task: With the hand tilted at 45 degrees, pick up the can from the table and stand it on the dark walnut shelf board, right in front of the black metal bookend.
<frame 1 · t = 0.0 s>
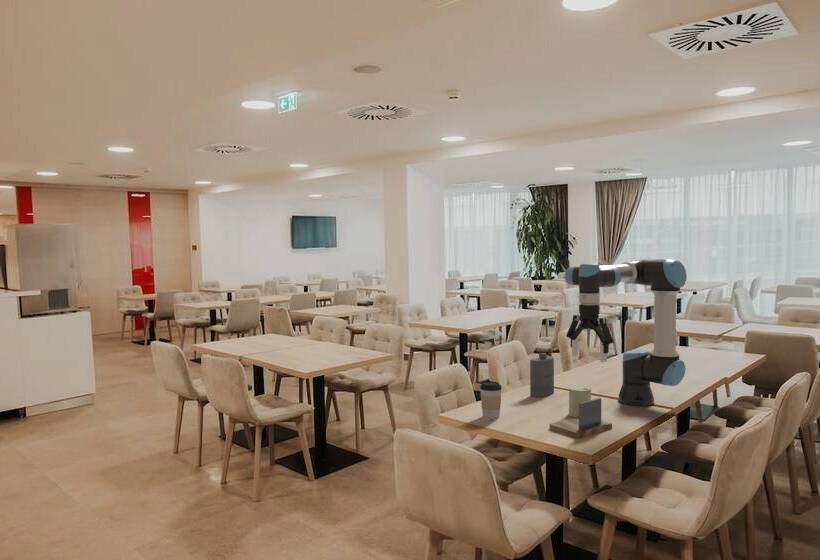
hand: (589, 358, 222), 28 cm above the table, tool pointing down, fingers open, 13 cm apart
can: (579, 415, 244), on the table
coffee cup: (491, 417, 243), on the table
flask: (543, 395, 277), on the table
bookend: (590, 426, 222), resting on shelf board
shelf board: (580, 428, 226), on the table
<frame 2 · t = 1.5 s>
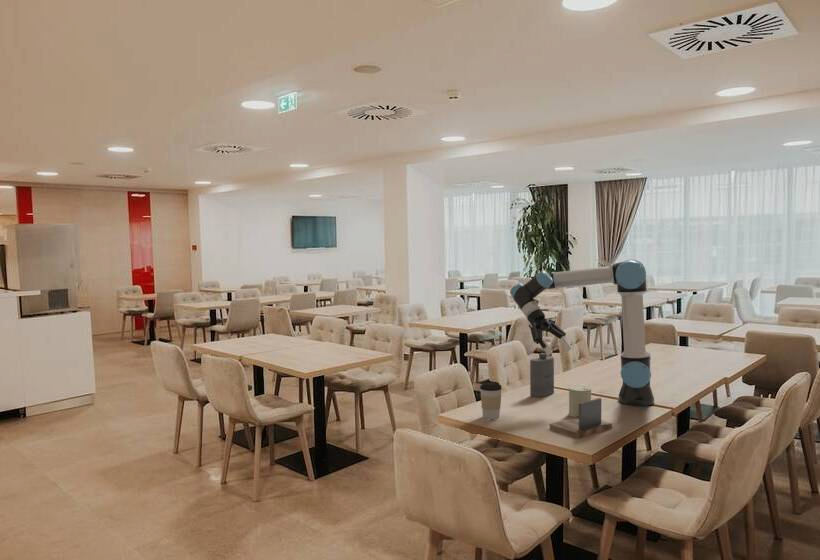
hand: (560, 351, 250), 26 cm above the table, tool tilted 45°, fingers open, 13 cm apart
nothing on the table moved.
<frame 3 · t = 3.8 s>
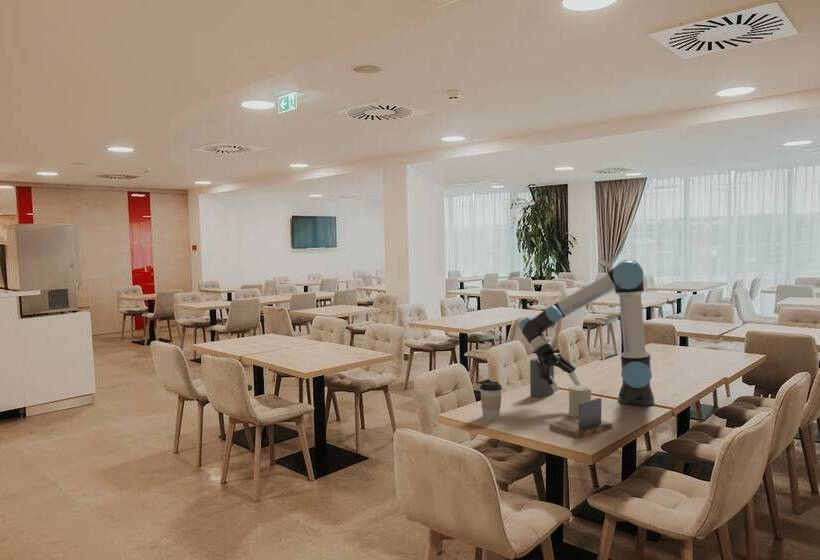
hand: (568, 387, 247), 11 cm above the table, tool tilted 45°, fingers open, 13 cm apart
nothing on the table moved.
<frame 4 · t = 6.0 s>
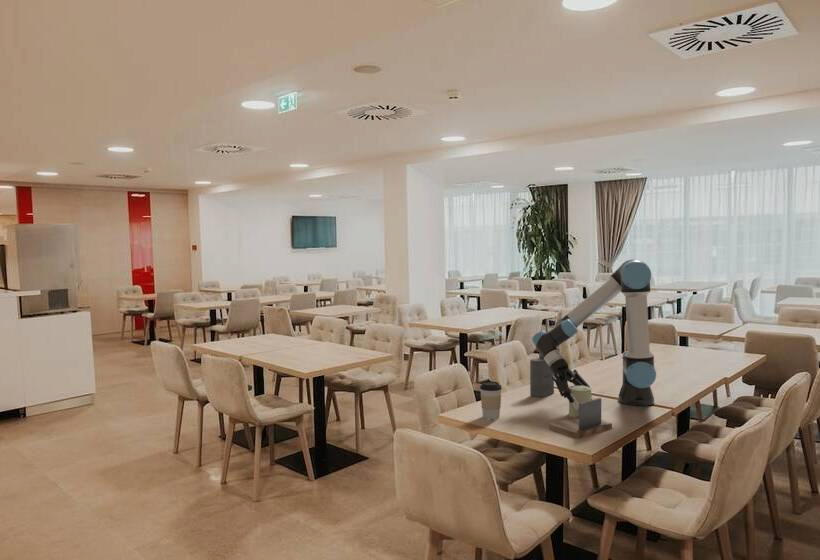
hand: (586, 406, 241), 4 cm above the table, tool tilted 45°, fingers closed on can, 9 cm apart
can: (579, 415, 244), on the table, touching gripper
everything else where it was.
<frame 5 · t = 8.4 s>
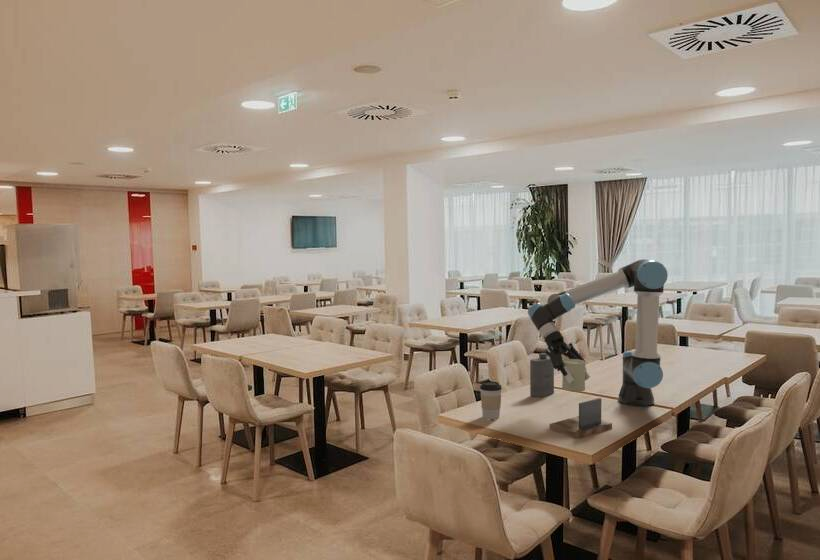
hand: (579, 380, 234), 17 cm above the table, tool tilted 45°, fingers closed on can, 9 cm apart
can: (573, 389, 237), point 12 cm above the table, touching gripper
everything else where it was.
when the fingers open (8 cm above the table, at t = 11.2 s): can drops 1 cm, resting on shelf board.
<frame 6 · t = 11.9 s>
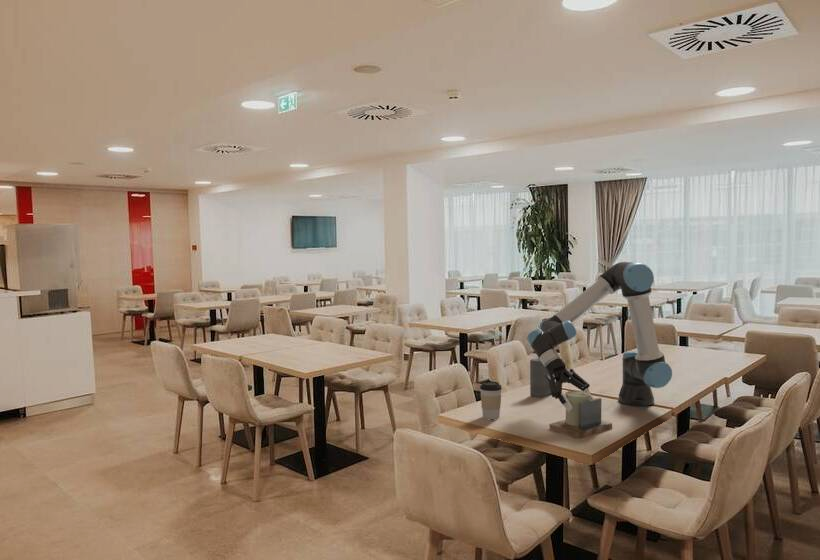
hand: (582, 407, 225), 9 cm above the table, tool tilted 45°, fingers open, 13 cm apart
can: (577, 422, 227), point 2 cm above the table, touching shelf board
everything else where it was.
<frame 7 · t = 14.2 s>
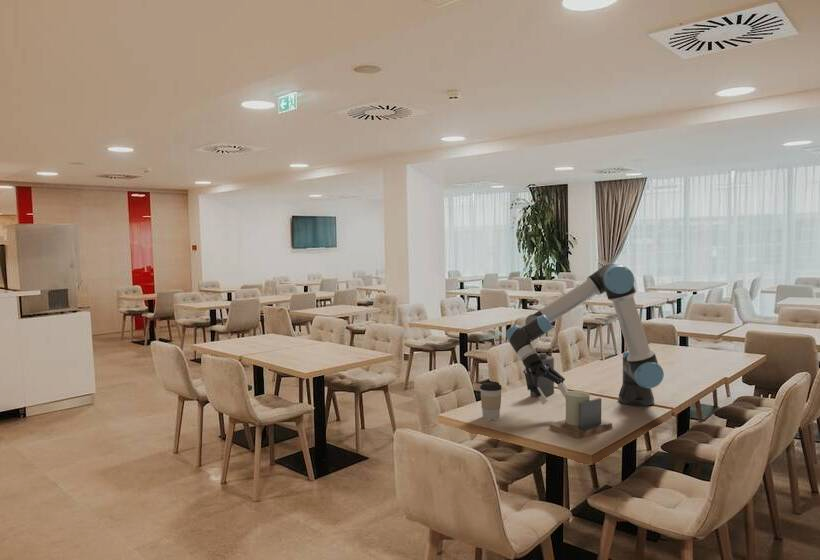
hand: (557, 399, 236), 9 cm above the table, tool tilted 45°, fingers open, 13 cm apart
nothing on the table moved.
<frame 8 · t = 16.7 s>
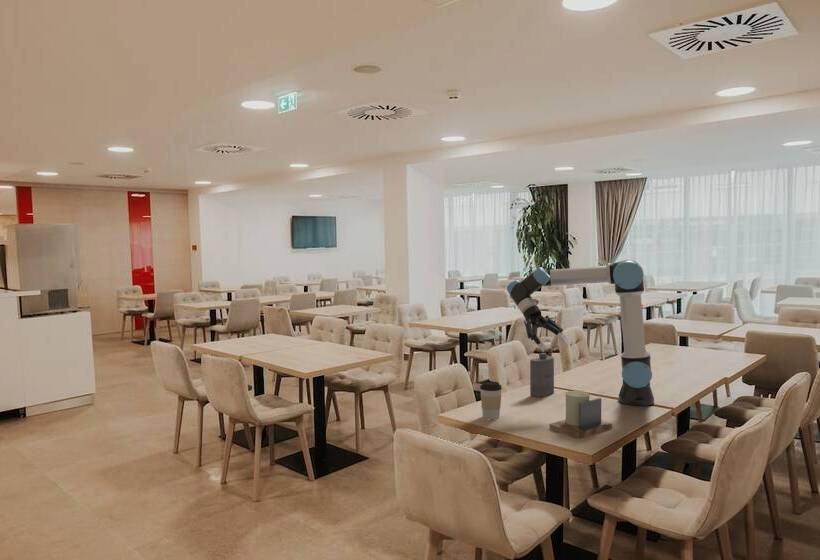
hand: (555, 347, 248), 28 cm above the table, tool tilted 45°, fingers open, 13 cm apart
nothing on the table moved.
at the end: can inside the target area on the shelf board (0.4 cm from its centre), point 1.8 cm above the shelf board's base; can tilted 0°; the gripper is holding nothing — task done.
